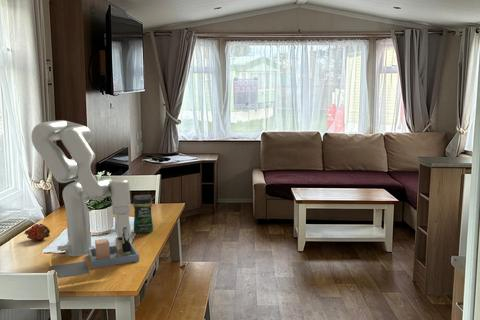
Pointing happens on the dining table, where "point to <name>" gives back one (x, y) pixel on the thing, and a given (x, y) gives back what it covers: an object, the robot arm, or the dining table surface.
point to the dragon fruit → (38, 232)
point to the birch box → (120, 248)
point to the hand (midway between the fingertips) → (124, 248)
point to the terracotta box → (102, 249)
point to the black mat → (71, 269)
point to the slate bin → (113, 257)
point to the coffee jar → (142, 213)
